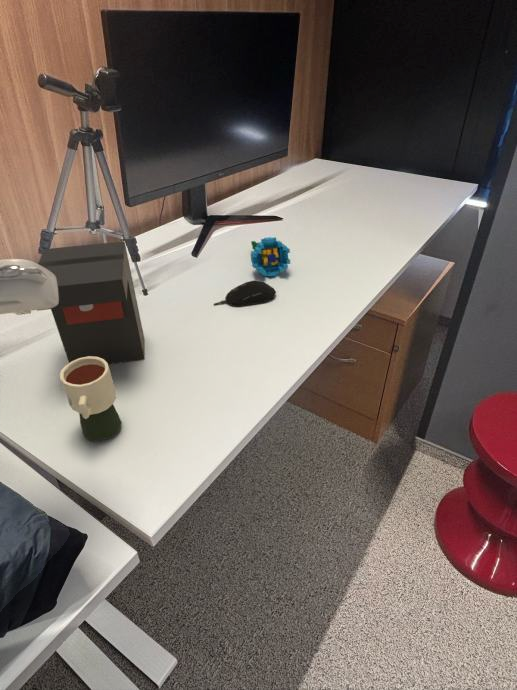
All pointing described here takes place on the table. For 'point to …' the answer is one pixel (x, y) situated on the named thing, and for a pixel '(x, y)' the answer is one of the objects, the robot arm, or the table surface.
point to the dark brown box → (96, 302)
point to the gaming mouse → (249, 294)
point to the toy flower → (269, 256)
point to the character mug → (92, 396)
